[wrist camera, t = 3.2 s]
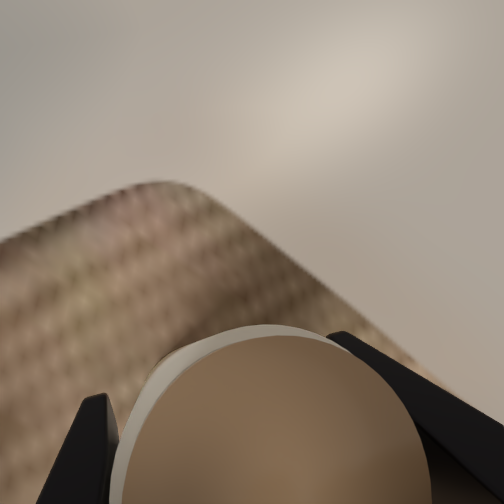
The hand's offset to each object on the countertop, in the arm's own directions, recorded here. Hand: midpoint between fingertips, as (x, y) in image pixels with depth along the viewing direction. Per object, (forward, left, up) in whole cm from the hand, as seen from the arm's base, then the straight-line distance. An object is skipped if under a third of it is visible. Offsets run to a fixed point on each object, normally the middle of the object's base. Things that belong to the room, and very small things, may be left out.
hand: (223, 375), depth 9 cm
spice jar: (-1, +1, -7) cm, 7 cm away
